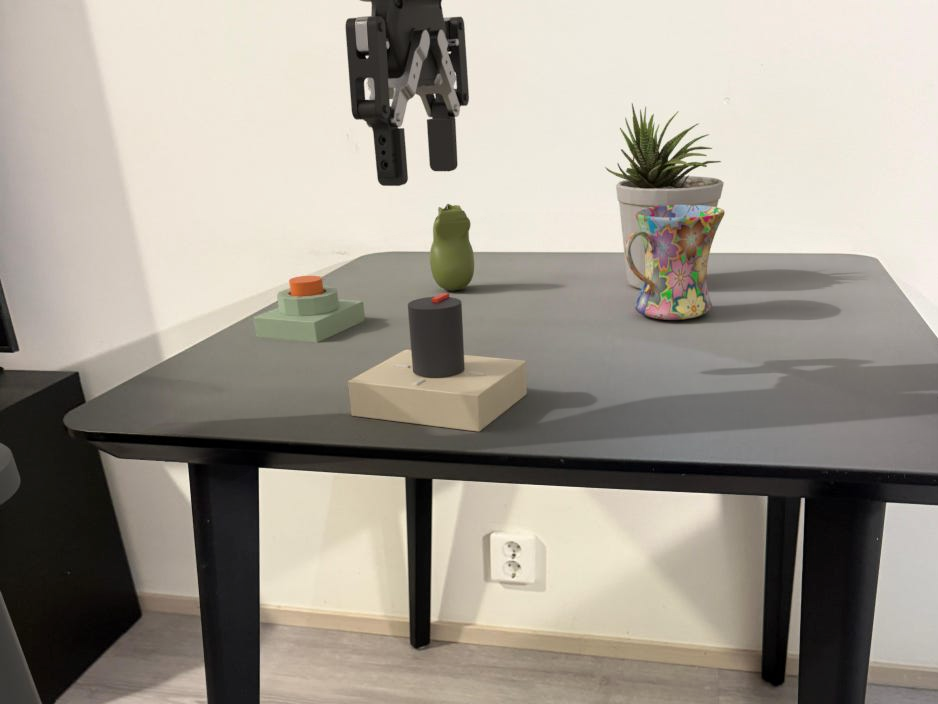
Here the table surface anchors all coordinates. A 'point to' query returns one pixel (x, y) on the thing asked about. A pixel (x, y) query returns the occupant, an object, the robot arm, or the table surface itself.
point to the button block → (309, 316)
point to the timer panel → (439, 392)
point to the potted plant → (658, 182)
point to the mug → (674, 259)
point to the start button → (306, 286)
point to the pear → (451, 249)
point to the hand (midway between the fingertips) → (419, 177)
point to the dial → (436, 336)
